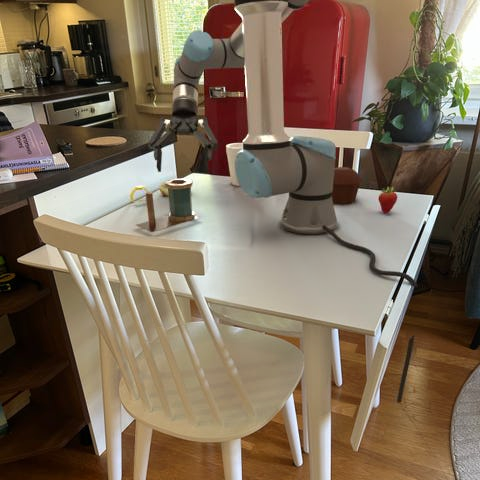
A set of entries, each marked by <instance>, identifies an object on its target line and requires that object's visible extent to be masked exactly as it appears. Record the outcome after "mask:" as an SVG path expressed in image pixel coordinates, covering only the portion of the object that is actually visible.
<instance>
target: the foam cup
mask: <svg viewBox="0 0 480 480" xmlns="http://www.w3.org/2000/svg"><path fill="white" fill-rule="evenodd" d="M225 147H226V148H225V149H226V150H225V151H226V153H225V154H226V156H227V162H228V171H229V177H230V182H231V185H232V186H237V187H240V185H239V183H238V180H237V177H236V173H235V159H236V155H237V154H238V153H239V152H240V151H242V150H243V142H233V143H229V144H226V146H225Z"/></svg>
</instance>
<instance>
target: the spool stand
mask: <svg viewBox="0 0 480 480" xmlns="http://www.w3.org/2000/svg"><path fill="white" fill-rule="evenodd" d="M145 201H146V202H145V203H146V209H147V218H148V221H144V222H141V223H137V224H135V226H137V227H139V228H140V229H141V228H142V229H143V230H146V231H147V232H150V233H154V232H157V231H160V230H164V229H167V228H170V227H173V226H178V225H180V224H183V223H186V222H191V221H193V220H197V219H199V216H198V217H197V216H194V218H193V219H191V220H188V221H173V220H170V219H169V218H168V215H165V216H162V217H158V218H156V215H155V205H154V195H153V192H152V191H148V192H145Z"/></svg>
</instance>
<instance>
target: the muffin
mask: <svg viewBox="0 0 480 480" xmlns="http://www.w3.org/2000/svg"><path fill="white" fill-rule="evenodd" d="M362 181H363V180H362V178H361V176H360V175H359V173H358V172H357V171H356V170H354V169H353V168H350V167H346V166H339V167H335V169H334V179H333V191H332V201H333V205H342V206H343V205H351V204H353V203H355V202H356V199H357V196H358V192H359V189H360V184H361V183H362Z"/></svg>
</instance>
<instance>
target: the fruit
mask: <svg viewBox="0 0 480 480" xmlns="http://www.w3.org/2000/svg"><path fill="white" fill-rule="evenodd" d="M394 188H395V186H387V188H386V189H385V188H382V189H381V190H379V192H380V194H379V195H378V198H377V199H378V202H379V204H380V210H381V212H382V213H383V214H388V213H390V212H391V211H392V210H393V208H394V206H395V205H396V203H397V201H398V195H397V193H396V192H397V191H398V190H397V189H394Z"/></svg>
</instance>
